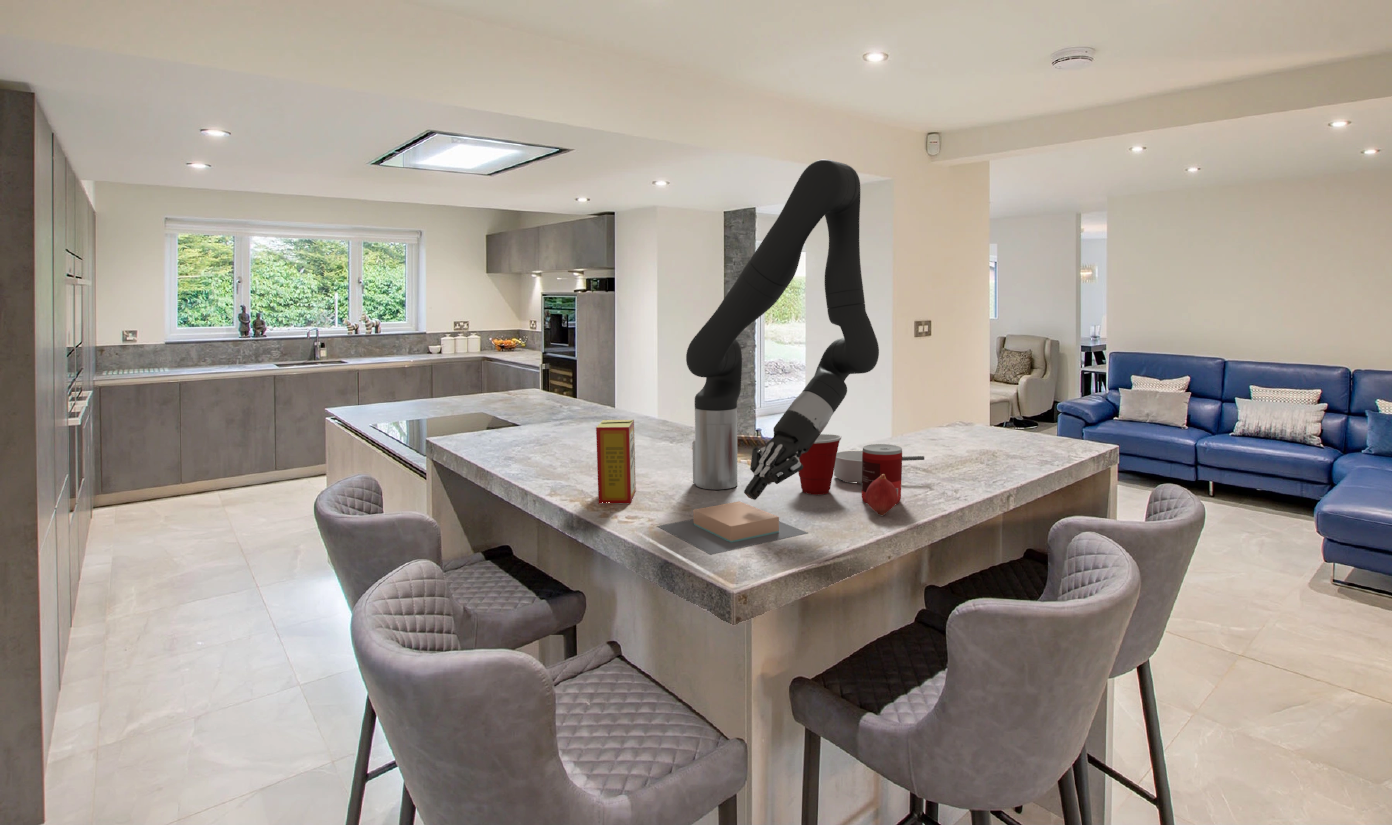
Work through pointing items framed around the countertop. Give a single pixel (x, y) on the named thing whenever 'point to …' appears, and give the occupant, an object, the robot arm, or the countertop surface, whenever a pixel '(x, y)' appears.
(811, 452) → the plastic cup
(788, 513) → the countertop surface
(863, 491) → the canned food
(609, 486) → the baking soda box
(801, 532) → the mat
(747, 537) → the tile
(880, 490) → the onion
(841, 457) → the saucepan
